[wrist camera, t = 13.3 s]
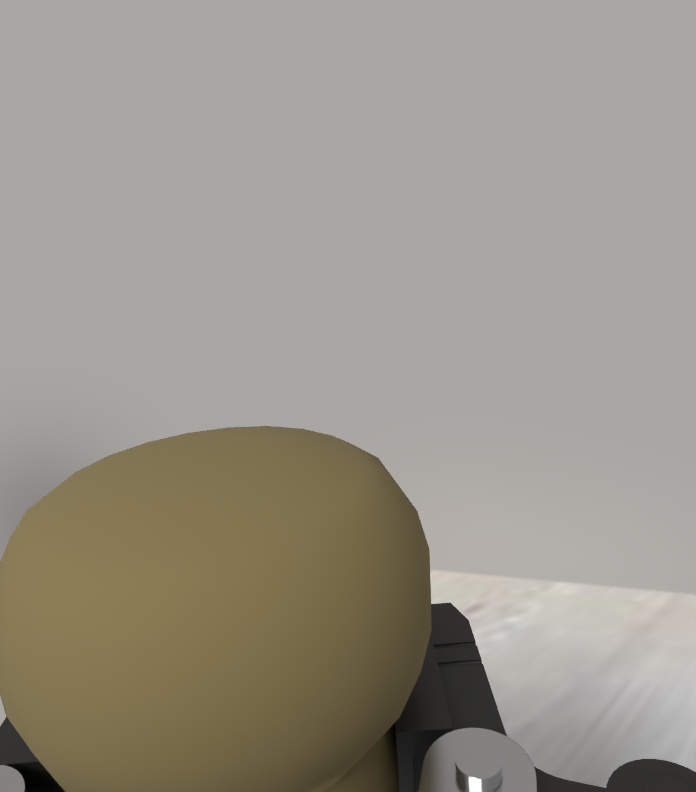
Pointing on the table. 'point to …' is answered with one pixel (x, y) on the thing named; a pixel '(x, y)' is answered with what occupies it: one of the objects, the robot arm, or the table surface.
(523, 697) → the table surface
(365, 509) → the olive pawn figure
